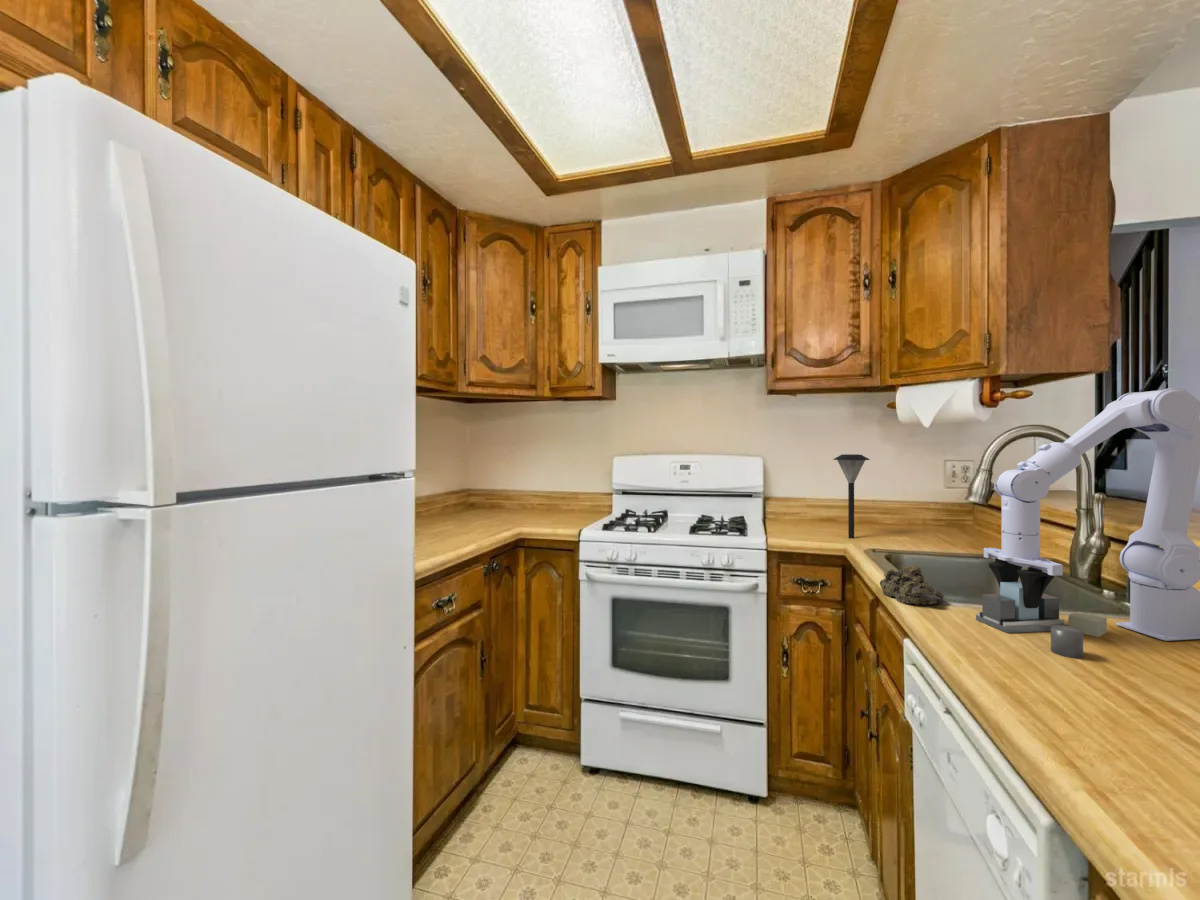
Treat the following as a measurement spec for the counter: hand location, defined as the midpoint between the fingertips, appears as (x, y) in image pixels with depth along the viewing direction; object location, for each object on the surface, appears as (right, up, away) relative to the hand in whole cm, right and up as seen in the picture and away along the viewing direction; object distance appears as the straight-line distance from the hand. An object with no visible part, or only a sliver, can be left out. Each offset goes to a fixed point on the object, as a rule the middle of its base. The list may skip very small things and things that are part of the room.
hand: (1020, 603), depth 98 cm
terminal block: (+9, -4, -4) cm, 11 cm away
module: (0, -2, 0) cm, 2 cm away
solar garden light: (+10, -3, +86) cm, 87 cm away
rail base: (0, -4, 0) cm, 4 cm away
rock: (-11, -4, +17) cm, 20 cm away
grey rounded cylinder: (-3, -4, -13) cm, 14 cm away
